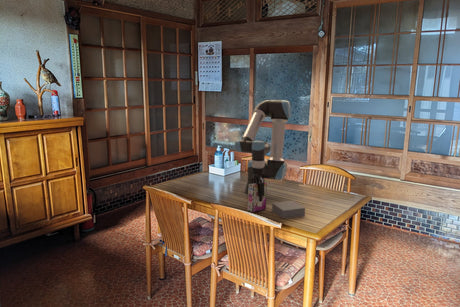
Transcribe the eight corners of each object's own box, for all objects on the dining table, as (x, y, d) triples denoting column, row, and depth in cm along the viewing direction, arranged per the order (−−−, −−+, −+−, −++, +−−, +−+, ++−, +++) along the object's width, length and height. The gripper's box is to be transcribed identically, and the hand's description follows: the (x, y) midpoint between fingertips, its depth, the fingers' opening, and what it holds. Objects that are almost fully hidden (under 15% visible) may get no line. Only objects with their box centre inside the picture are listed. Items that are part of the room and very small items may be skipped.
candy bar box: (252, 213, 206) (253, 186, 203) (247, 210, 210) (247, 184, 207) (266, 209, 213) (267, 182, 210) (260, 206, 217) (261, 181, 214)
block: (272, 210, 211) (272, 202, 210) (292, 208, 215) (292, 200, 214) (283, 219, 198) (283, 210, 197) (304, 216, 202) (305, 208, 201)
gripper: (245, 164, 214) (245, 200, 218) (259, 171, 196) (258, 210, 201) (256, 163, 216) (255, 199, 221) (271, 170, 199) (270, 208, 203)
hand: (257, 204), depth 211 cm, fingers closed on candy bar box, 6 cm apart
